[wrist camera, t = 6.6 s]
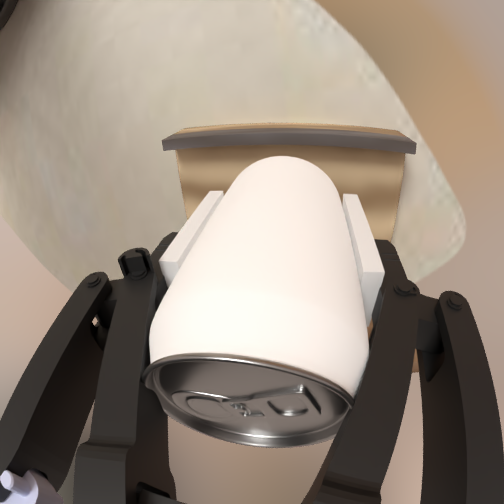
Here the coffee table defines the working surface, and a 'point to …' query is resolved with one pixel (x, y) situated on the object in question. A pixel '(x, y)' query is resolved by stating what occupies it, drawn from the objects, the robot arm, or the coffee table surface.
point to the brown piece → (304, 147)
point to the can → (264, 315)
